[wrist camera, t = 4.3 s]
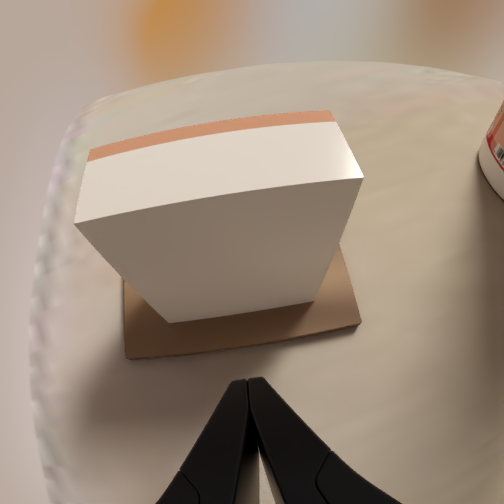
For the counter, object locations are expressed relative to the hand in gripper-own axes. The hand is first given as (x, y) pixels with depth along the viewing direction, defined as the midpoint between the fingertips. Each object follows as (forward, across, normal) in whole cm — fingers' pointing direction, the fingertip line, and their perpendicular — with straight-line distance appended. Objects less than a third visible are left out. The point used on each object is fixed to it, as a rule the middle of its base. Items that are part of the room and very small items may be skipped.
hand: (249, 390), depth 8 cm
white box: (+10, 0, +1) cm, 10 cm away
